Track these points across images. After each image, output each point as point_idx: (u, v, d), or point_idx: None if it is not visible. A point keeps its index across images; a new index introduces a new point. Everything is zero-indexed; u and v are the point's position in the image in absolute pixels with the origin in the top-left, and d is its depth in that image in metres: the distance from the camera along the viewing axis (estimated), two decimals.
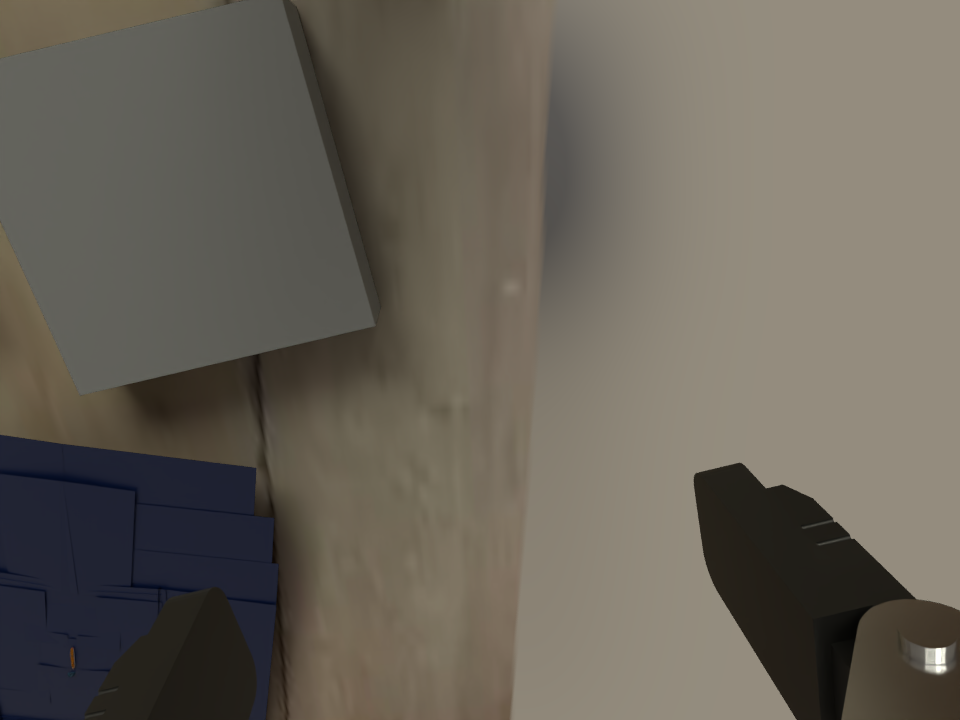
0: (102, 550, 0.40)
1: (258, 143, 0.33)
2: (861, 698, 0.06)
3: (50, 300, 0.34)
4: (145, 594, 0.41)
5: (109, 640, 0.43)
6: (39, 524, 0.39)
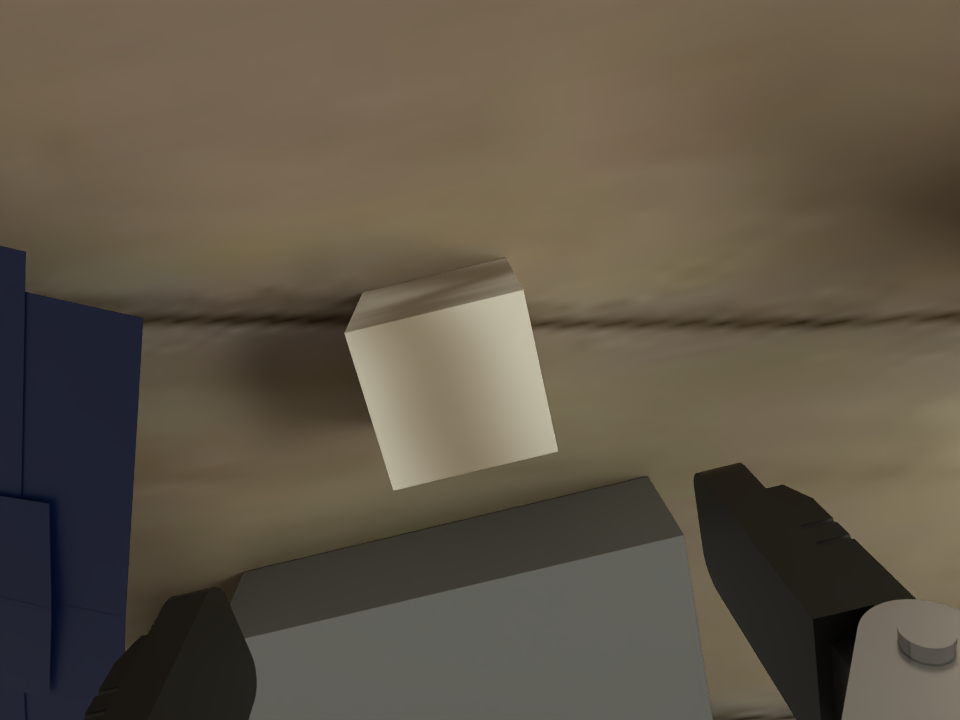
0: None
1: None
2: (861, 698, 0.06)
3: (367, 626, 0.23)
4: None
5: None
6: None
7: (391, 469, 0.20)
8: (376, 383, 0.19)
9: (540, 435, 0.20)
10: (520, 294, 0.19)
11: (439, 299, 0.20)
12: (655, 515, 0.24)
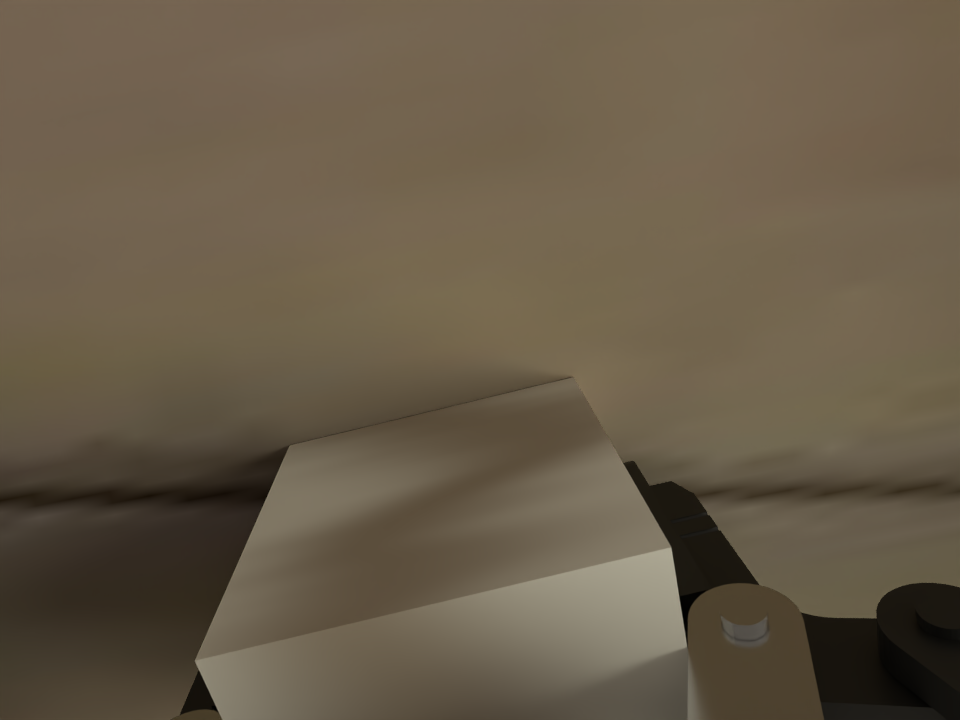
0: None
1: None
2: (700, 684, 0.07)
3: None
4: None
5: None
6: None
7: None
8: None
9: None
10: (663, 558, 0.07)
11: (445, 533, 0.08)
12: None
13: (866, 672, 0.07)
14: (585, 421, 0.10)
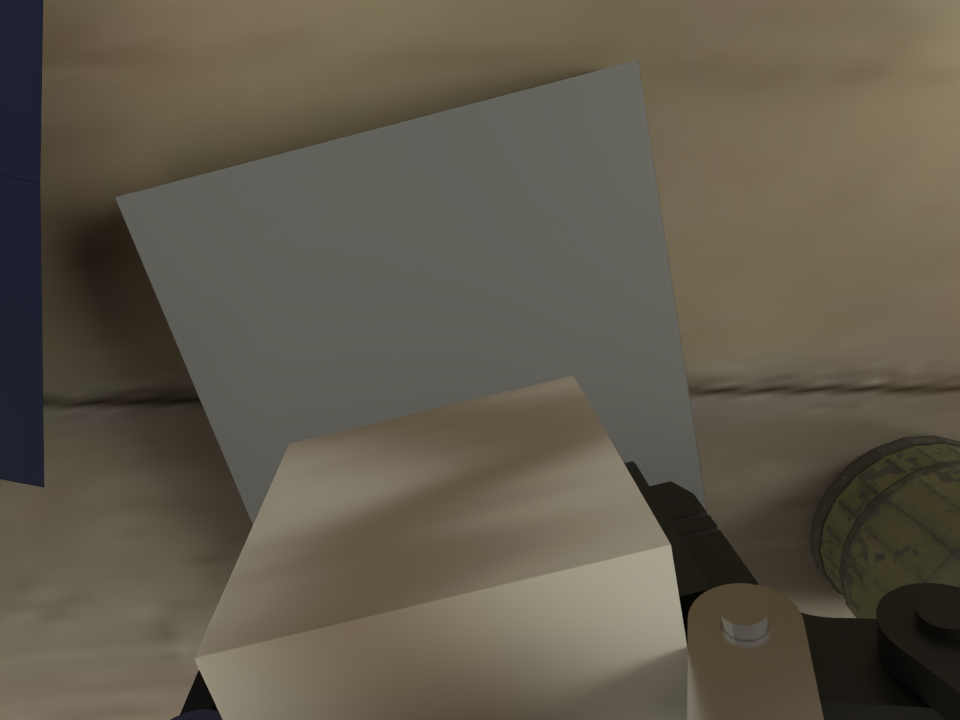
0: None
1: None
2: (700, 684, 0.07)
3: (288, 175, 0.20)
4: None
5: None
6: None
7: None
8: None
9: None
10: (662, 556, 0.07)
11: (445, 530, 0.08)
12: None
13: (866, 672, 0.07)
14: (585, 419, 0.10)
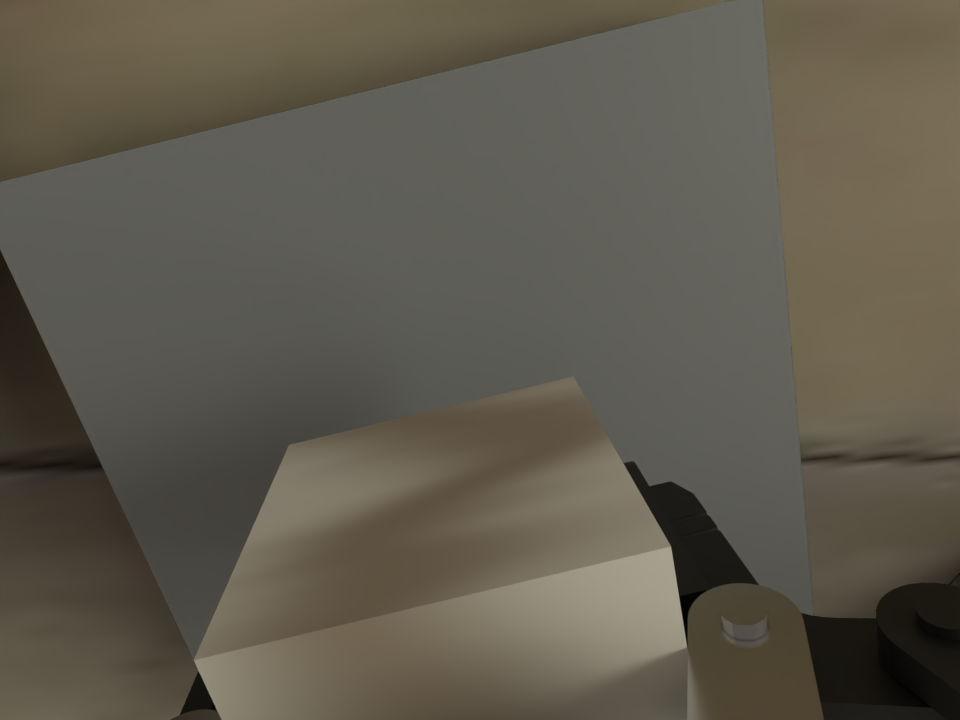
0: None
1: None
2: (700, 684, 0.07)
3: (233, 160, 0.14)
4: None
5: None
6: None
7: None
8: None
9: None
10: (663, 557, 0.07)
11: (445, 532, 0.08)
12: None
13: (866, 672, 0.07)
14: (585, 420, 0.10)
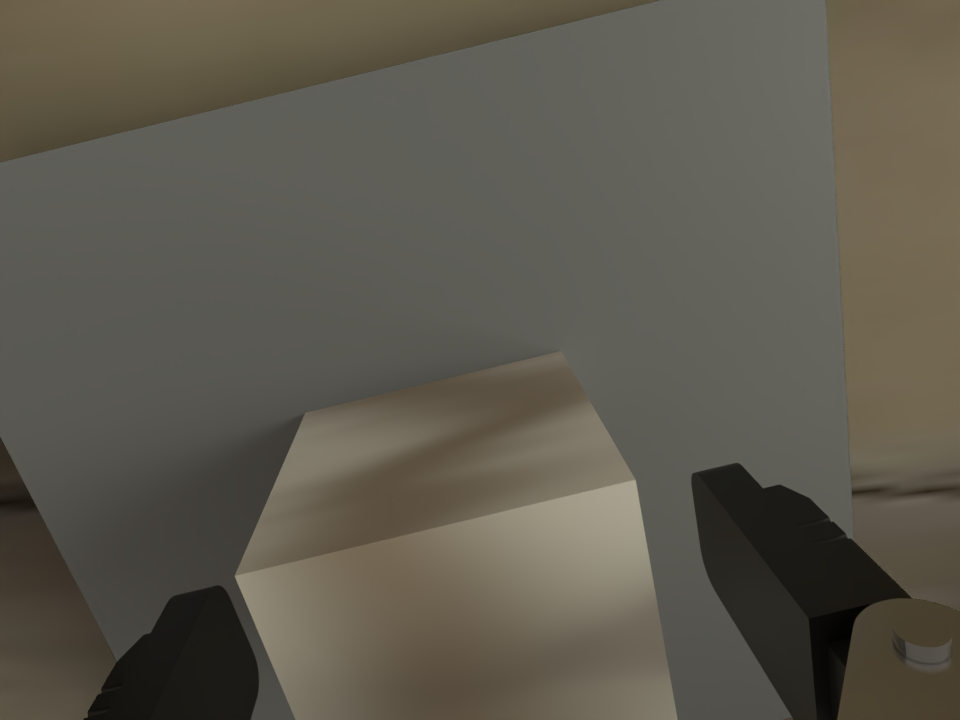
0: None
1: None
2: (857, 697, 0.06)
3: (190, 159, 0.11)
4: None
5: None
6: None
7: None
8: (312, 670, 0.09)
9: None
10: (628, 489, 0.08)
11: (445, 475, 0.09)
12: None
13: None
14: (569, 386, 0.11)
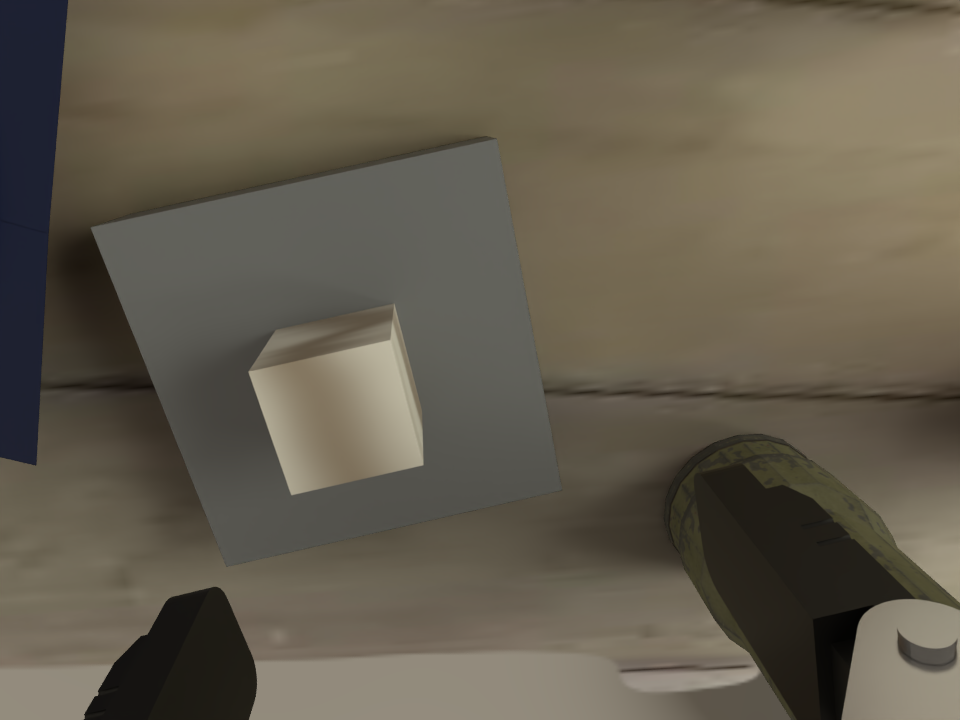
0: None
1: (423, 463, 0.31)
2: (861, 698, 0.06)
3: (227, 215, 0.27)
4: None
5: None
6: None
7: (289, 478, 0.25)
8: (275, 411, 0.24)
9: (408, 452, 0.25)
10: (388, 343, 0.24)
11: (328, 343, 0.25)
12: (480, 140, 0.28)
13: None
14: (388, 315, 0.27)
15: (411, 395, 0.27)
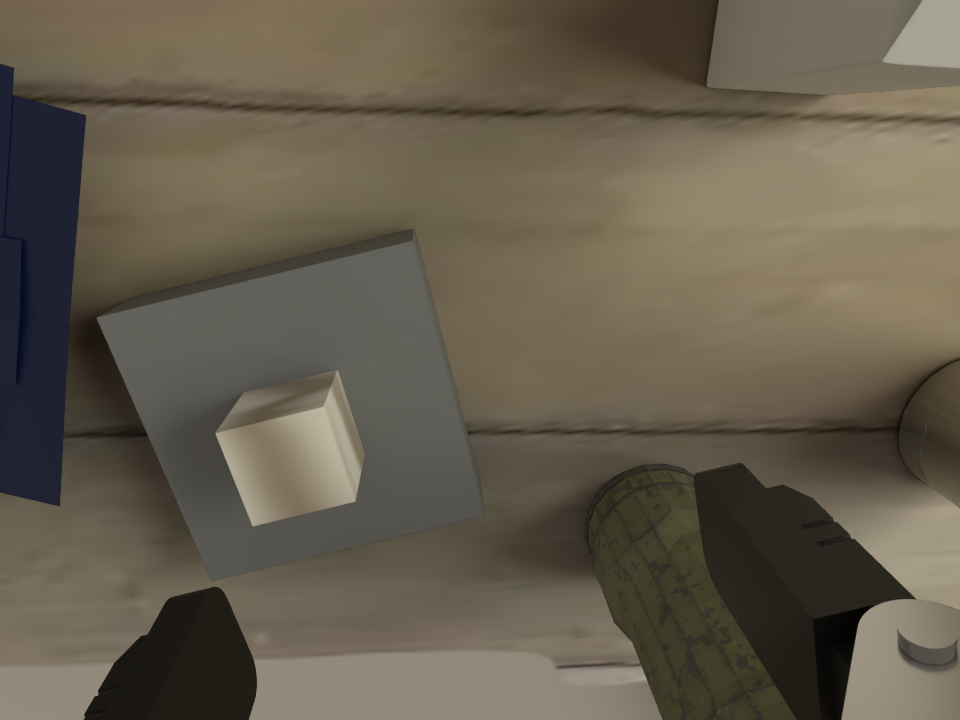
0: None
1: (368, 495, 0.38)
2: (861, 698, 0.06)
3: (202, 305, 0.34)
4: None
5: None
6: None
7: (250, 513, 0.32)
8: (237, 462, 0.31)
9: (343, 491, 0.32)
10: (321, 409, 0.31)
11: (278, 408, 0.32)
12: (403, 238, 0.35)
13: None
14: (329, 382, 0.34)
15: (348, 445, 0.34)
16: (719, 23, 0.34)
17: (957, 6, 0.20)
